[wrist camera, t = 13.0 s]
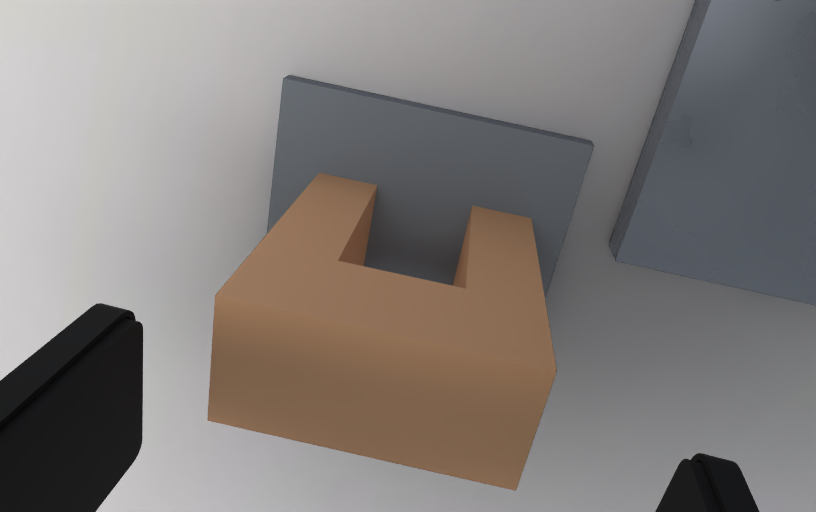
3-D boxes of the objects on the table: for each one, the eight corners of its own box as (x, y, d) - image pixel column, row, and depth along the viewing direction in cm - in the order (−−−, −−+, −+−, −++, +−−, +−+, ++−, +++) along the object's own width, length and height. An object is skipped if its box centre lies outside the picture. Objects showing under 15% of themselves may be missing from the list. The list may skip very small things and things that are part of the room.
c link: (531, 218, 19) (556, 370, 12) (506, 304, 20) (515, 490, 13) (318, 172, 19) (215, 295, 12) (307, 260, 20) (207, 420, 13)
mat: (591, 140, 18) (594, 145, 18) (518, 365, 22) (519, 376, 21) (289, 74, 19) (283, 78, 18) (263, 308, 22) (258, 316, 22)
